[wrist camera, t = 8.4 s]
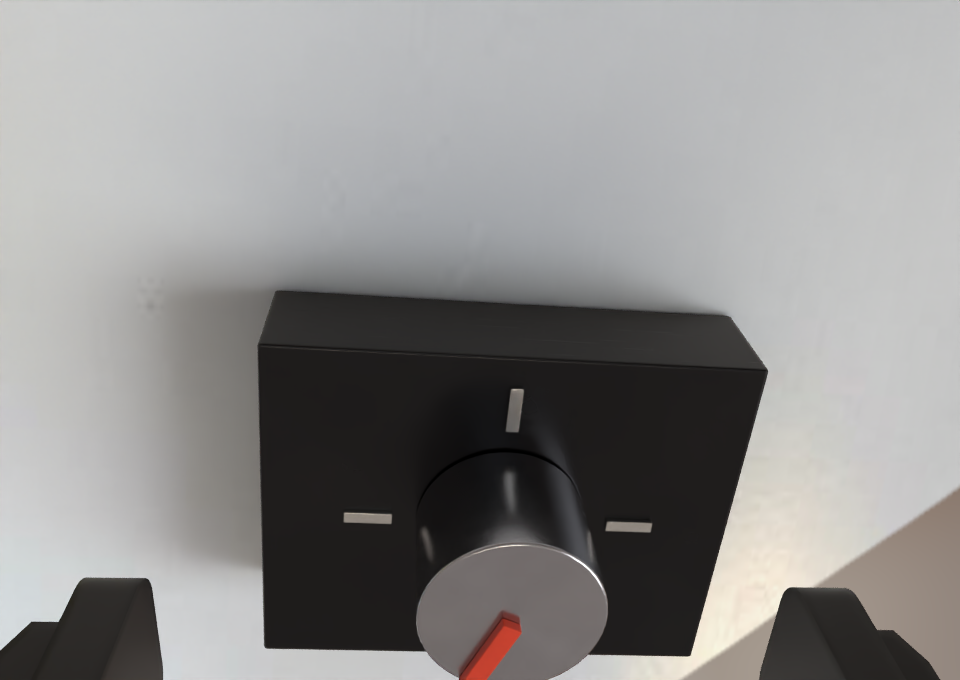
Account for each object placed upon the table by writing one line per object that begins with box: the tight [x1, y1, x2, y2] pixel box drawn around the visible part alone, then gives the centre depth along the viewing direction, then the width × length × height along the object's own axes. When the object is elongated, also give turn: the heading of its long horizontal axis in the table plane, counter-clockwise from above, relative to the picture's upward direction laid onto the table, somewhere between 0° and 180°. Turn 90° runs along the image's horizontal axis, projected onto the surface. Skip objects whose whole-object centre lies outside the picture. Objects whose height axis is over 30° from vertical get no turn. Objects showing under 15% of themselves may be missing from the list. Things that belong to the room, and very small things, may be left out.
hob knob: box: [416, 452, 608, 680], centre depth 25 cm, size 5×5×4 cm
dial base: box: [258, 291, 768, 656], centre depth 28 cm, size 14×11×4 cm
